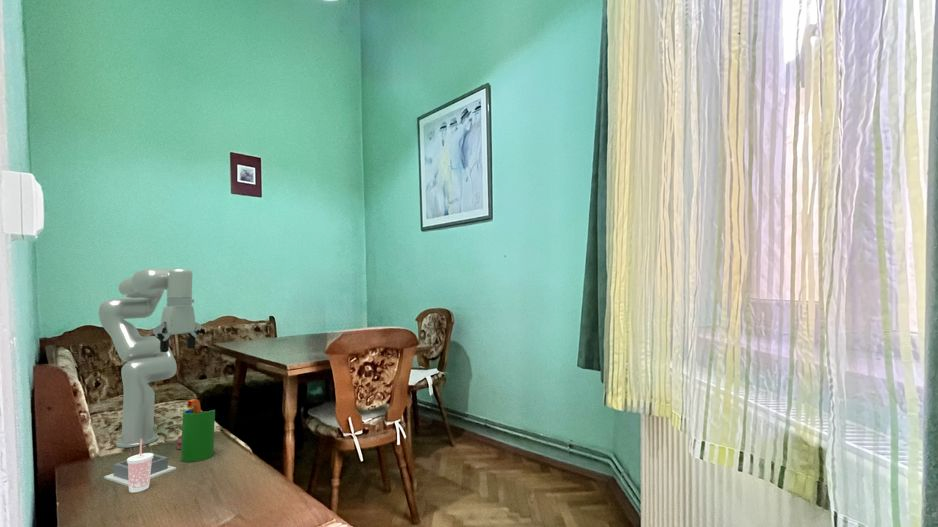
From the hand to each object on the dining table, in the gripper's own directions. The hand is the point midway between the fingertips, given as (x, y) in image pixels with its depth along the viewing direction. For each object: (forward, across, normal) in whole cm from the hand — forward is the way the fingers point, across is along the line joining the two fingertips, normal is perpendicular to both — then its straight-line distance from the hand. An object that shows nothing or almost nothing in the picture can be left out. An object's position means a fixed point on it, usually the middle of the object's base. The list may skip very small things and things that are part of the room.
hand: (178, 350), depth 150 cm
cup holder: (+36, +16, +7) cm, 40 cm away
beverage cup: (+37, +22, +17) cm, 46 cm away
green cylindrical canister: (+37, 0, +11) cm, 38 cm away
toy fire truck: (+36, -10, -3) cm, 38 cm away
